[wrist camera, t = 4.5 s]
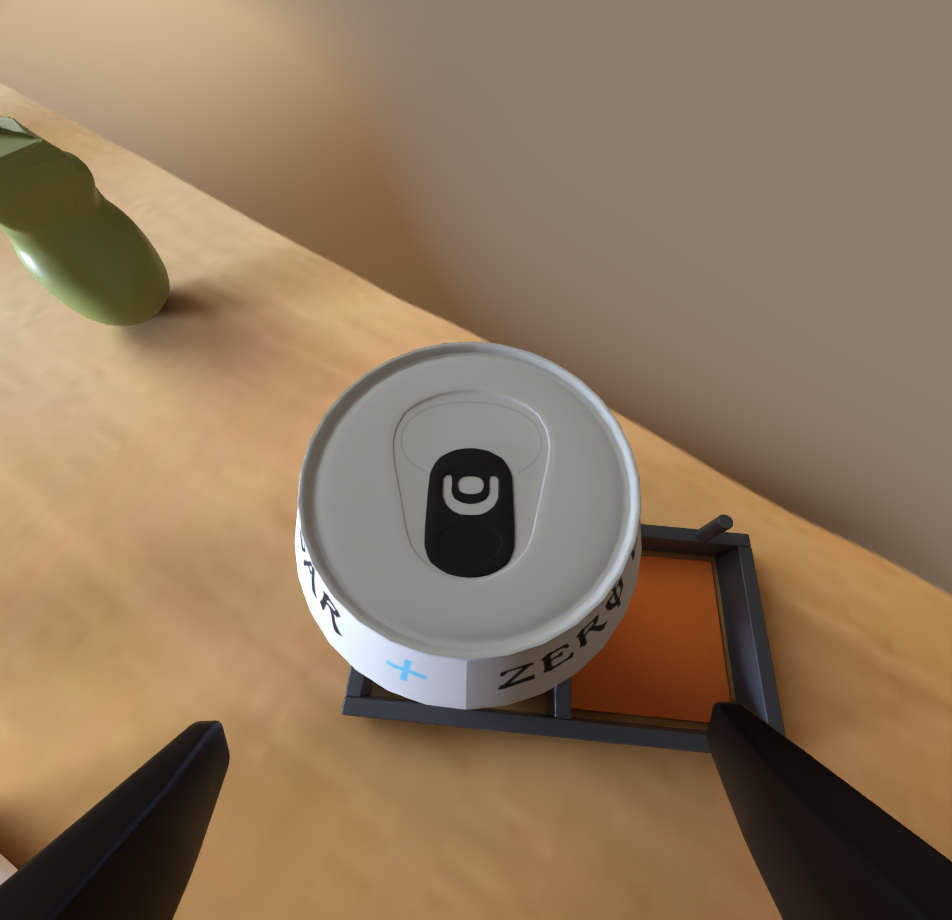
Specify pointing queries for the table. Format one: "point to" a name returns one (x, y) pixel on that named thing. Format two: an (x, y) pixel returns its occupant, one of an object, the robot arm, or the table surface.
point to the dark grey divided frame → (750, 690)
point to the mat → (661, 648)
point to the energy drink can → (468, 525)
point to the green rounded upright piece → (75, 233)
